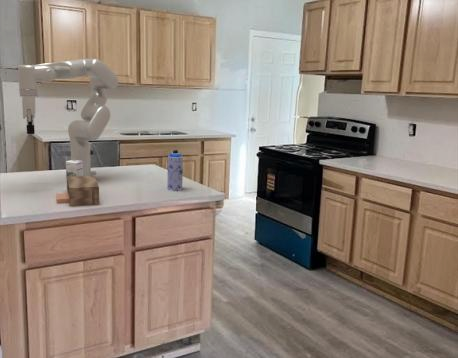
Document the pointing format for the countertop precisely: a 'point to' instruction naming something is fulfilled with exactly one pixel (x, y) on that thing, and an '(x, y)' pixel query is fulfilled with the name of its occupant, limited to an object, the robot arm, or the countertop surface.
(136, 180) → the countertop surface
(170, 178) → the aerosol can
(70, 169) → the syrup box
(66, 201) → the panel
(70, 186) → the brown box
